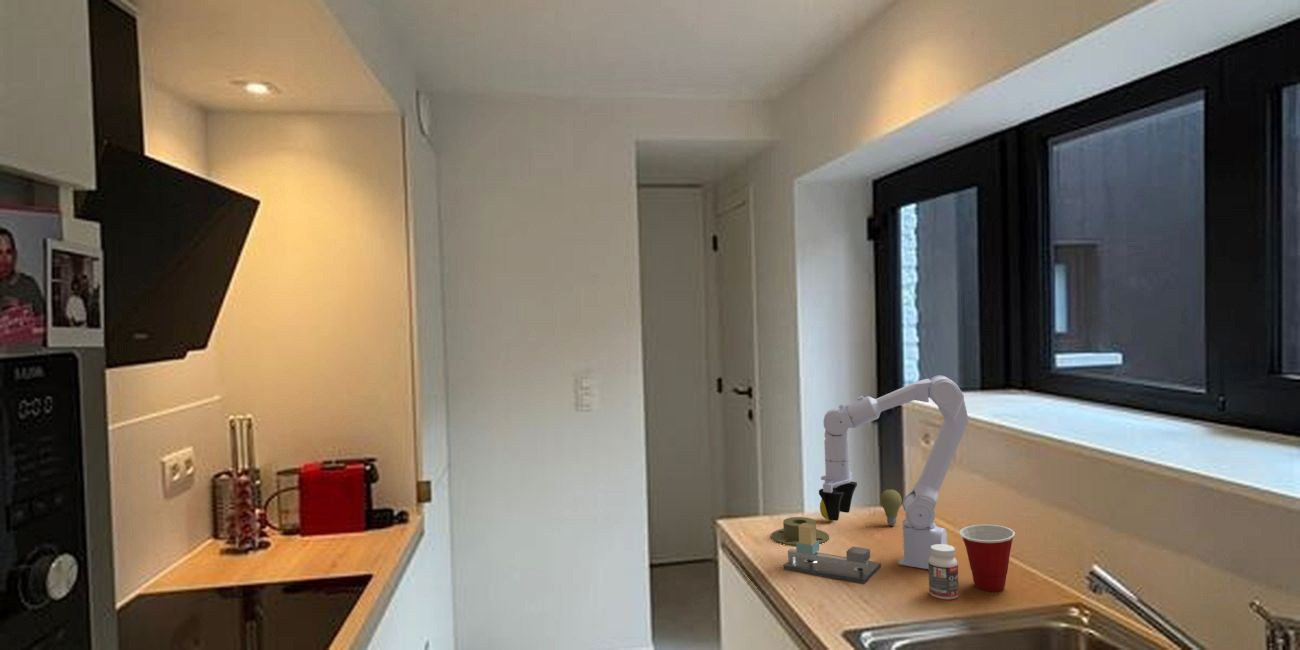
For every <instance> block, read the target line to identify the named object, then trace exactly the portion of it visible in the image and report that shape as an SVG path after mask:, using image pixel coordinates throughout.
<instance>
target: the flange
mask: <svg viewBox="0 0 1300 650" xmlns="http://www.w3.org/2000/svg"><path fill="white" fill-rule="evenodd" d="M782 523H783V528H780V529H779V528H778V529H776V530H774V531H773V532H771V535H770V537H771V539H773V540H774V542H775V541H776V542H775V543H777V542H778V543H777V544H780V543H781V544H780V545H783V544H785V545H784V546H788V545H791V546H790V547H796V543H798V542H799V526H800V525H801V524H803V523H808V524H815V525H816V526H817V522H816V520H815V519H813V518H811V517H810V518H809V517H803V516H793V517H792V516H791V517H788V518H785V519H783V521H782ZM773 540H772V541H773ZM828 540H829V541H830V534H828V533H827V532H826V531H823V530H821V529H818V528H816V541H819V544H821V545H823V544H822V543H824V544H826V543H827V541H828ZM829 541H828V542H829ZM825 542H826V543H825Z"/></svg>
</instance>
